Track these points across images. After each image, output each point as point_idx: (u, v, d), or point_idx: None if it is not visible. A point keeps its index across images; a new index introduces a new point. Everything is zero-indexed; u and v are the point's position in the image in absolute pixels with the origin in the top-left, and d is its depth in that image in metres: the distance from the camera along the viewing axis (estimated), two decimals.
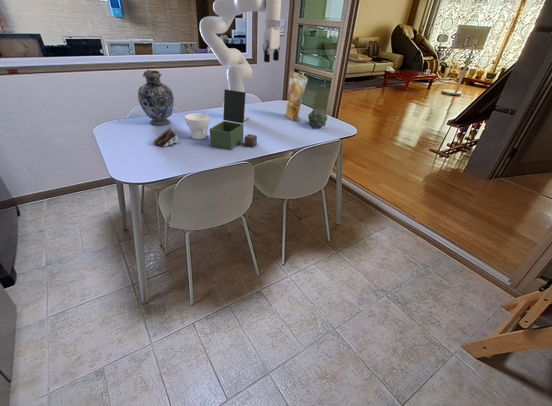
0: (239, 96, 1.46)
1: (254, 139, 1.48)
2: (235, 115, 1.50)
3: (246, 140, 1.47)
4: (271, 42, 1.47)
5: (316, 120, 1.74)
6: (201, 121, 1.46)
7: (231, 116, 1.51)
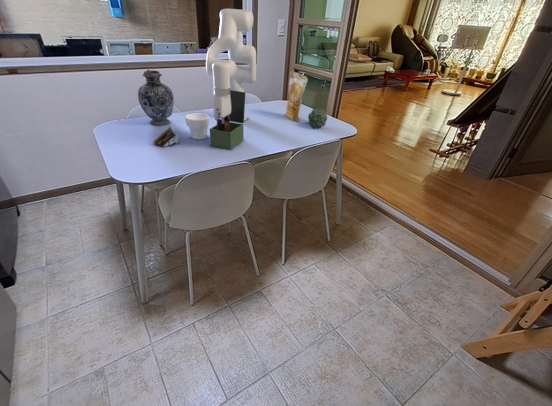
0: (239, 96, 1.45)
1: (227, 125, 1.42)
2: (235, 115, 1.50)
3: None
4: (222, 111, 1.35)
5: (316, 120, 1.74)
6: (201, 121, 1.46)
7: (231, 116, 1.51)
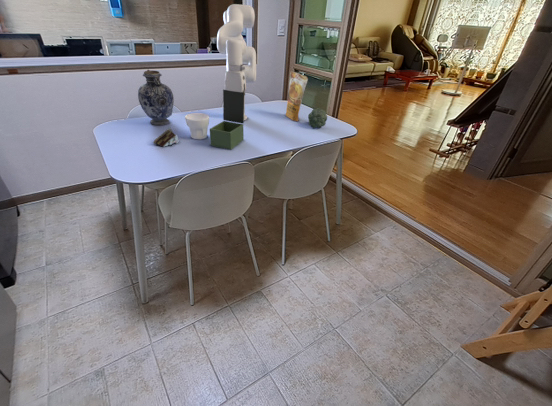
0: (238, 96, 1.45)
1: None
2: (234, 115, 1.50)
3: None
4: (225, 84, 1.44)
5: (316, 120, 1.74)
6: (201, 121, 1.46)
7: (231, 116, 1.51)
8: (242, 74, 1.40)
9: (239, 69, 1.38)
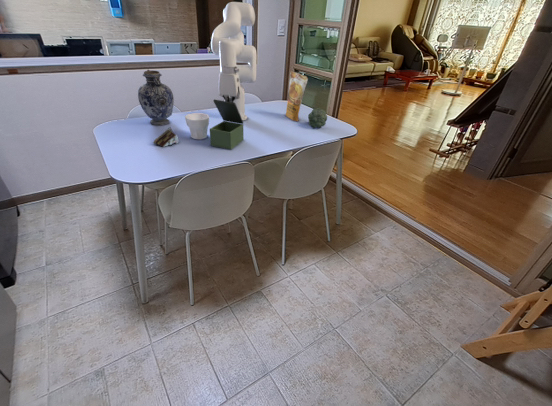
0: (230, 106, 1.39)
1: None
2: (233, 118, 1.49)
3: None
4: (219, 87, 1.39)
5: (316, 120, 1.74)
6: (201, 121, 1.46)
7: (229, 118, 1.50)
8: (236, 76, 1.35)
9: (233, 71, 1.33)
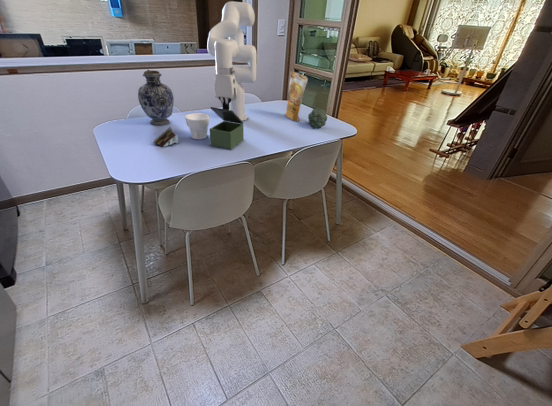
0: (228, 113, 1.39)
1: None
2: (232, 120, 1.49)
3: None
4: (215, 88, 1.35)
5: (316, 120, 1.74)
6: (201, 121, 1.46)
7: (229, 120, 1.50)
8: (232, 78, 1.31)
9: (229, 72, 1.30)
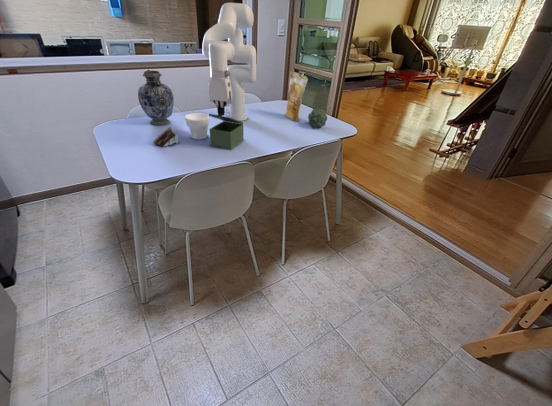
0: (227, 119, 1.39)
1: None
2: (232, 121, 1.49)
3: None
4: (209, 92, 1.32)
5: (316, 120, 1.74)
6: (201, 121, 1.46)
7: (229, 121, 1.50)
8: (227, 81, 1.28)
9: (224, 75, 1.26)
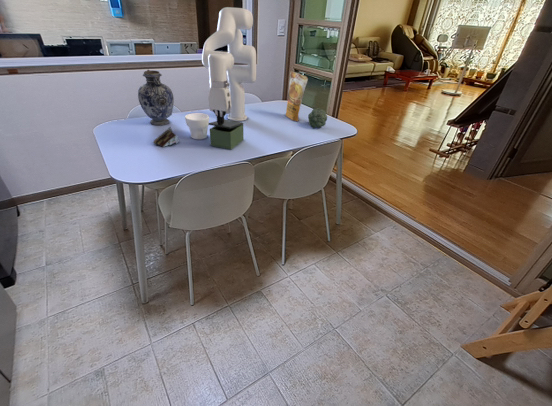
0: None
1: None
2: None
3: None
4: (209, 101, 1.33)
5: (316, 120, 1.74)
6: (201, 121, 1.46)
7: None
8: (226, 91, 1.29)
9: (223, 86, 1.28)
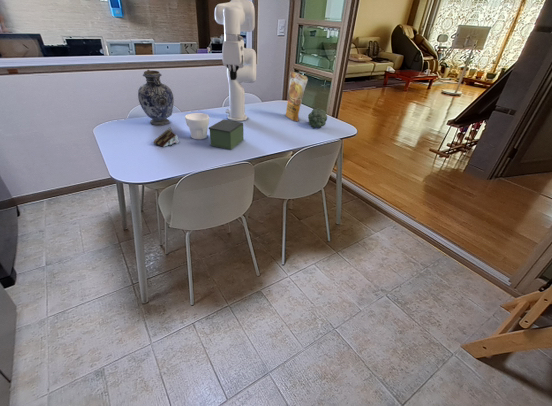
0: None
1: None
2: None
3: None
4: (223, 56, 1.40)
5: (316, 120, 1.74)
6: (201, 121, 1.46)
7: None
8: (240, 44, 1.36)
9: (237, 39, 1.34)
